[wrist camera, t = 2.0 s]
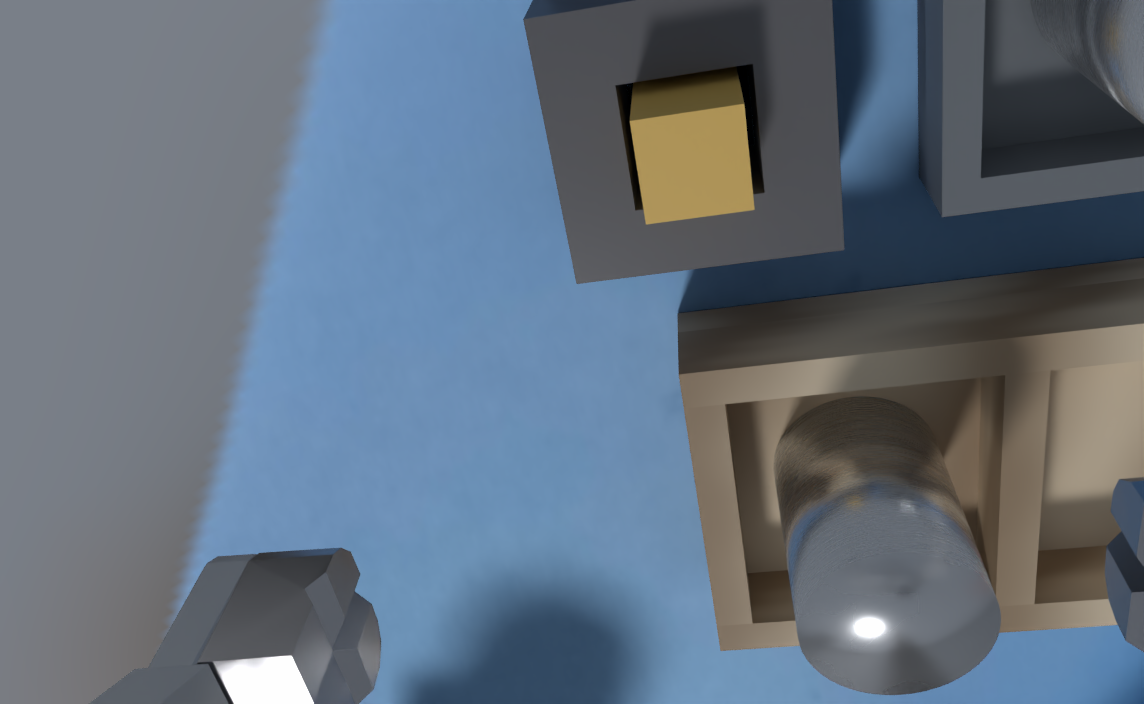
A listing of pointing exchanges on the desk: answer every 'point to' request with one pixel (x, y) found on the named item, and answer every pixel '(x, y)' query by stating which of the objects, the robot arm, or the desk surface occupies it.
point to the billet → (1099, 44)
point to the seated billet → (880, 550)
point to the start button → (691, 146)
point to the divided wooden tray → (931, 426)
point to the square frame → (1013, 115)
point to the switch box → (670, 48)
